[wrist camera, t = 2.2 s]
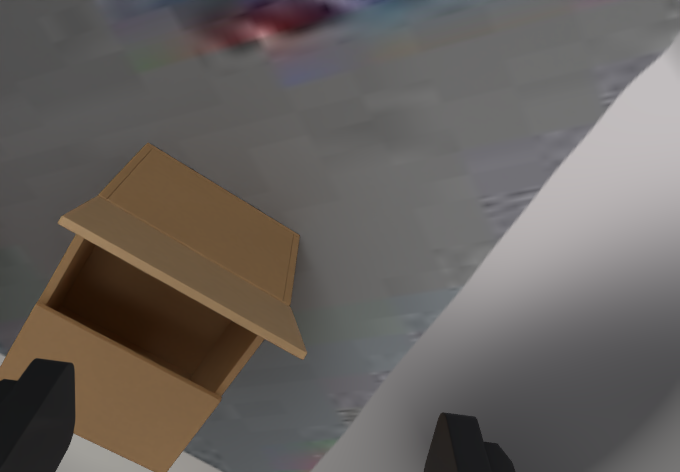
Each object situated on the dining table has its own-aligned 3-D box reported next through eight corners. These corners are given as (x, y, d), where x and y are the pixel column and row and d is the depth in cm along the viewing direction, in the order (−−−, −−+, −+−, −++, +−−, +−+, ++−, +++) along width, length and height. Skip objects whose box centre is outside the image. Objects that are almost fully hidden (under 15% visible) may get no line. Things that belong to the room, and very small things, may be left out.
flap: (93, 201, 33) (97, 195, 33) (287, 313, 36) (291, 307, 36) (56, 223, 26) (62, 215, 26) (303, 360, 29) (307, 353, 29)
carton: (147, 141, 42) (93, 199, 33) (300, 235, 45) (289, 312, 36) (54, 303, 47) (-16, 392, 38) (196, 377, 50) (163, 477, 41)
